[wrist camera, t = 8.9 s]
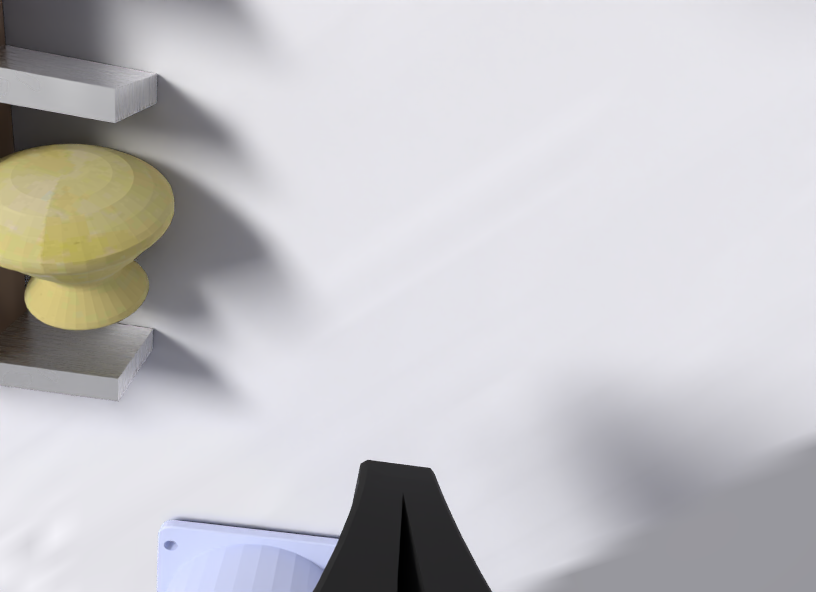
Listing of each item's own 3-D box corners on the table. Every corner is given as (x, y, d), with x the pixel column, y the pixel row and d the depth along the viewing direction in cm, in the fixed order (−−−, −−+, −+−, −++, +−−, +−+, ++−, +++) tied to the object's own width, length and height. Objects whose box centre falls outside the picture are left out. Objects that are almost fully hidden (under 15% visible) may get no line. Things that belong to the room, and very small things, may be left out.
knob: (13, 121, 18) (-113, 164, 13) (197, 152, 18) (136, 204, 14) (26, 269, 20) (-79, 351, 15) (192, 294, 20) (137, 379, 16)
